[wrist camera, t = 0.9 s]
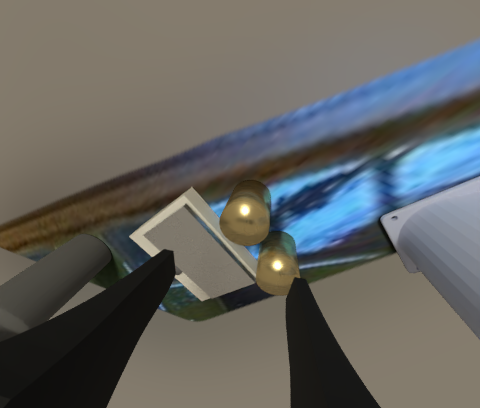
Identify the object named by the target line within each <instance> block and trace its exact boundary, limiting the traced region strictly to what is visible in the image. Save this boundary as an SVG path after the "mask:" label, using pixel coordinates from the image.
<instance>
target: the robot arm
mask: <svg viewBox="0 0 480 408" xmlns="http://www.w3.org/2000/svg"><path fill="white" fill-rule="evenodd" d="M393 216H395V217H394V218H392V217H393ZM391 218H392V219H391ZM380 221H381V223H382V225H383V227H384V229H385V230H386V232H387V234H388V236H389V238H390V240H391V242H392V244H393V245H394V247H395V249H396V251H397V253H398V255H399V256H400V258H401V260H402V262H403V264H404V266H405V268H406V269H407V271H408V272H410V273H416V272H420V271H421V272H422V273H423V274H424V276H425V277H426V278H427V279H428V280H429V281H430V282H431V284H432V285H433V286H434V287H435V288H436V289H437V291H438V292H439V293H440V294H441V295H442V296H443V298H444V299H445V300H446V301H447V302H448V303H449V305H450V306H451V307H452V308H453V309H454V310H455V312H456V313H457V314H458V315H459V316H460V317H461V319H462V320H463V321H464V322H465V323H466V324H467V326H468V327H469V328H470V329H471V330H472V331H473V332H474V334H475V335H476V336H477V337H478V338H479V339H480V176H479V177H477V178H474V179H472V180H469V181H467V182H464V183H462V184H459V185H457V186H454V187H452V188H450V189H447V190H445V191H442V192H440V193H437V194H435V195H432V196H430V197H427V198H425V199H422V200H420V201H417V202H415V203H413V204H410V205H408V206H405V207H403V208H400V209H398V210H395V211H393V212H390V213H388V214H385V215H383V216H382V217H381V218H380ZM175 275H176V269H175V259H174V251H172V250H167V249H163V250H162V251H160V252H159V253H158V254H156V255H155V256H154V257H152V258H151V259H150V260H148V261H147V262H145V263H144V264H143V265H141V266H140V267H139V268H137V269H136V270H134V271H133V272H131V273H130V274H129V275H127V276H126V277H124V278H123V279H121V280H120V281H118V282H117V283H115V284H114V285H112V286H111V287H109V288H107V289H106V290H104V291H102V292H101V293H99V294H97V295H96V296H94V297H92V298H91V299H89V300H87V301H86V302H83V303H82V304H80V305H78V306H76V307H74V308H72V309H70V310H68V311H66V312H64V313H63V314H61V315H59V316H57V317H55V318H53V319H51V320H48V321H46V322H44V323H42V324H40V325H38V326H36V327H33V328H31V329H29V330H27V331H25V332H22V333H20V334H18V335H15V336H13V337H11V338H8V339H6V340H4V341H1V342H0V408H106V407H107V405H108V403H109V401H110V398H111V396H112V394H113V392H114V390H115V388H116V385H117V383H118V381H119V379H120V377H121V375H122V372H123V371H124V369H125V367H126V364H127V362H128V360H129V358H130V356H131V354H132V352H133V350H134V348H135V346H136V344H137V342H138V340H139V338H140V337H141V335H142V333H143V331H144V330H145V328H146V326H147V325H148V323H149V321H150V320H151V318H152V316H153V315H154V313H155V312H156V310H157V308H158V307H159V305H160V303H161V302H162V300H163V298H164V297H165V295H166V293H167V292H168V290H169V288H170V286H171V284H172V282H173V279H174V277H175ZM286 329H287V341H288V352H289V363H290V383H291V384H290V387H291V408H381V407H380V406H379V405H378V403H377V402H376V400H375V399H374V398H373V396H372V395H371V394H370V392H369V391H368V389H367V388H366V386H365V385H364V383H363V382H362V380H361V379H360V377H359V376H358V374H357V373H356V371H355V370H354V368H353V367H352V365H351V364H350V362H349V361H348V359H347V357H346V356H345V354H344V352H343V351H342V349H341V347H340V346H339V344H338V342H337V341H336V339H335V337H334V335H333V333H332V332H331V330H330V328H329V326H328V324H327V322H326V320H325V318H324V317H323V315H322V313H321V311H320V309H319V307H318V305H317V303H316V300H315V298H314V296H313V294H312V292H311V290H310V288H309V285H308V283H307V281H306V279H302V278H297V277H294V279H293V282H292V285H291V287H290V290H289V293H288V295H287V298H286Z"/></svg>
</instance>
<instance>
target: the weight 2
mask: <svg viewBox="0 0 480 408" xmlns="http://www.w3.org/2000/svg"><path fill="white" fill-rule="evenodd" d="M294 277H297V278H300V275H299V267H298V260H297V252H296V244H295V241H294V239H293V237H292V236H291V235H289V234H288V233H286V232H283V231H271V232H268V235H267V236H266V238H265V239H264V240H263V241H261V242H260V247H259V256H258V264H257V272H256V282H257V284H258V286H259V287H260V288H261V289H262V290H263V291H265V292H267V293H269V294H273V295H288V293H289V290H290V287H291V285H292V282H293V279H294Z"/></svg>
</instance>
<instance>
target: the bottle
mask: <svg viewBox="0 0 480 408" xmlns="http://www.w3.org/2000/svg"><path fill="white" fill-rule="evenodd" d="M110 260H111V252H110V250H109V249H108V247H107V246H106V245H105V244H104V243H103V242H102V241H101V240H99V239H98V238H96V237H94V236H91V235H88V234H80V235H78V236H76V237H74V238H73V239H71V240H70V241H68V242H67V243H65V244H64V245H62V246H60V247H59V248H57V249H56V250H54V251H53V252H51V253H50V254H48V255H47V256H45V257H44V258H42V259H41V260H39V261H38V262H36V263H35V264H33V265H32V266H30V267H28V268H27V269H26V270H24V271H22V272H21V273H19V274H18V275H16V276H15V277H13V278H12V279H10V280H9V281H7V282H6V283H4V284H3V285H1V286H0V342H1V341H4V340H6V339H8V338H11V337H13V336H15V335H18V334H20V333H22V332H25V331H27V330H29V329H31V328H33V327H36V326H38V325H40V324H42V323H44V322H46V321H48V320H49V319H50V317H52V316H53V315H54V314H55V313H56V312H57V311H58V310H59V309H60V308H61V307H62V306H64V305H65V304H66V303H67V302H68V301H69V300H70V299H71V298H72V297H73V296H74V295H75V294H76V293H77V292H78V291H79V290H80V289H82V288H83V287H84V286H85V284H87V283H88V282H89V281H90V280H91V279H92V278H93V277H94V276H95V275H96V274H97V273H98V272H99V271H100V270H102V269H103V268H104V267H105V266H106V265H107V264H108V263H109V262H110Z"/></svg>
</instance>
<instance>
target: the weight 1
mask: <svg viewBox="0 0 480 408" xmlns="http://www.w3.org/2000/svg"><path fill="white" fill-rule="evenodd" d="M270 207H271V194H270V192H269V190H268V188H267V187H266V186H265V185H264V184H263V183H261V182H259V181H256V180H245V181H243V182H241V183H239V184H238V185H237V186H236V187H235V188H234V190H233V192H232V194H231V196H230V198H229V200H228V202H227V204H226V206H225V208H224V210H223V212H222V214H221V216H220V220H219V225H220V229H221V231H222V233H223V235H224V236H225V237H226V238H227V239H228V240H230V241H231V242H233V243H235V244H238V245H243V246H251V245H256V244H258V243H260V242H261V241H263V240H264V239H265V238H266V236H267V235H268V232H269V223H270Z"/></svg>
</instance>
